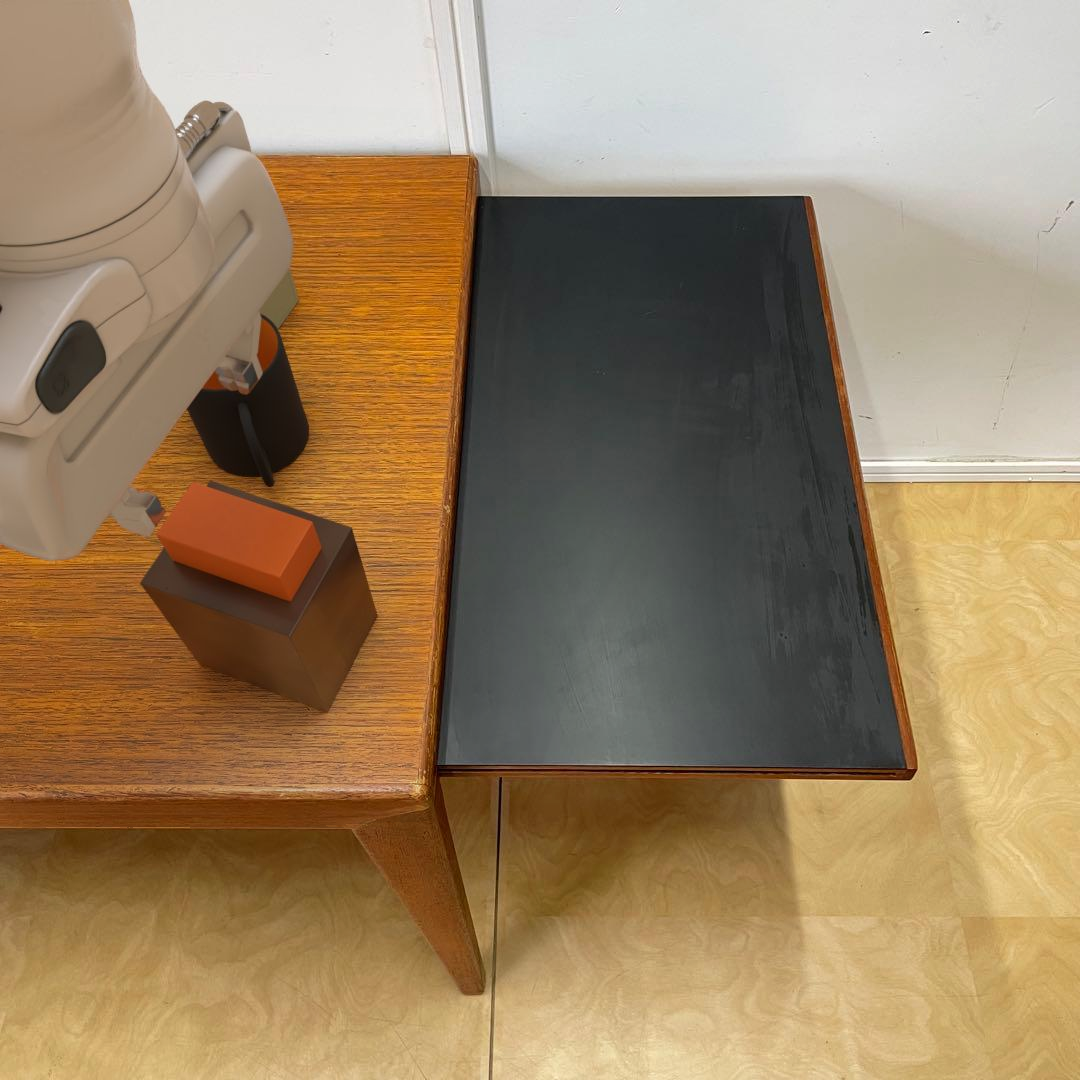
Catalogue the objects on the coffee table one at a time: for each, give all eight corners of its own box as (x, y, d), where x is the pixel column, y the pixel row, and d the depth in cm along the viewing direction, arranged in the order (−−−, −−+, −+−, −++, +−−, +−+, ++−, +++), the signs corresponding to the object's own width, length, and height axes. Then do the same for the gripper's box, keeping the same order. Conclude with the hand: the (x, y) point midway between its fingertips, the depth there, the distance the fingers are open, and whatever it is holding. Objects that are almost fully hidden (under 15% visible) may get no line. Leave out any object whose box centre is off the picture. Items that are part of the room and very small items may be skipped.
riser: (199, 665, 65) (139, 582, 54) (256, 572, 69) (209, 479, 58) (327, 713, 63) (289, 637, 53) (378, 615, 67) (352, 527, 57)
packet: (172, 560, 55) (155, 534, 53) (207, 509, 57) (192, 481, 55) (290, 602, 54) (279, 577, 51) (322, 548, 56) (313, 521, 53)
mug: (226, 527, 71) (184, 444, 62) (198, 413, 76) (155, 323, 68) (332, 495, 72) (305, 411, 63) (296, 386, 78) (267, 295, 69)
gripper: (162, 62, 41) (244, 296, 52) (-175, 396, 30) (21, 593, 42) (290, 93, 39) (344, 325, 51) (-16, 450, 29) (139, 636, 41)
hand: (196, 448), depth 47 cm, fingers open, 8 cm apart
